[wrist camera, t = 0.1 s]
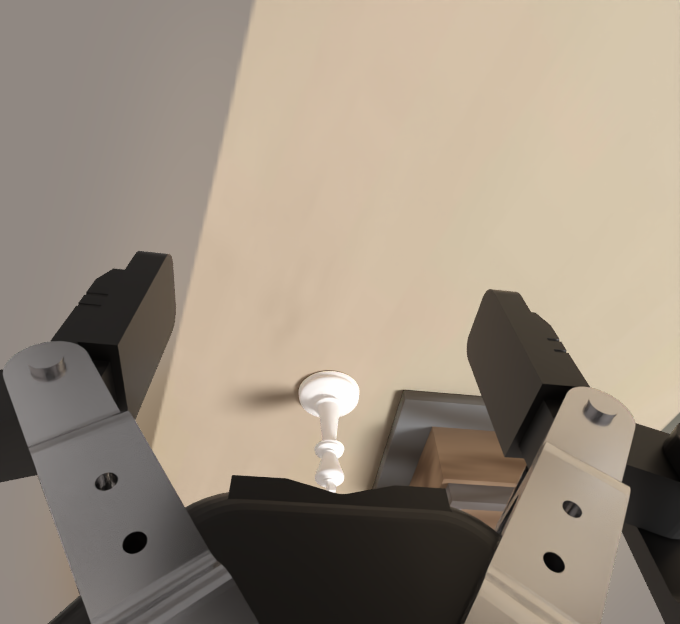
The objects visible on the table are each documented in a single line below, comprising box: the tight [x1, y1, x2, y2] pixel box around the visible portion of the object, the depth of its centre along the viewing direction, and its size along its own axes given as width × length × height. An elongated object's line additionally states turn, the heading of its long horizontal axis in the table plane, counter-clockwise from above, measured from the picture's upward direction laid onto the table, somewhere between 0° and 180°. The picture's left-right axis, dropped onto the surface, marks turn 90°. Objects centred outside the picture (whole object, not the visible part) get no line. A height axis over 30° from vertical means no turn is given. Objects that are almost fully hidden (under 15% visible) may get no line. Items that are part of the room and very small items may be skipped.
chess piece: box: [299, 371, 359, 493], centre depth 35 cm, size 5×5×10 cm
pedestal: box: [373, 390, 526, 529], centre depth 42 cm, size 16×16×8 cm
